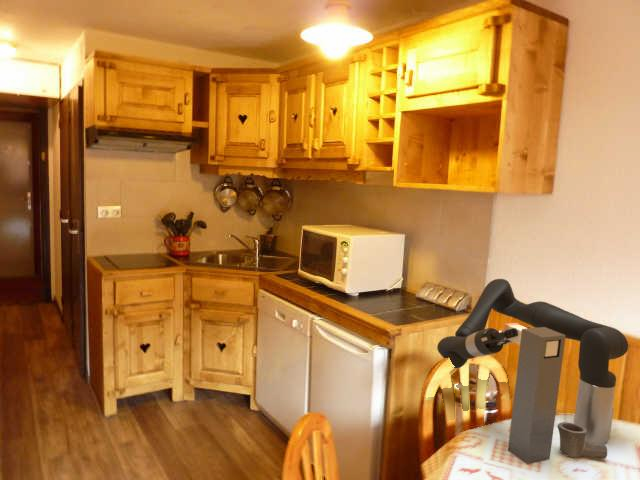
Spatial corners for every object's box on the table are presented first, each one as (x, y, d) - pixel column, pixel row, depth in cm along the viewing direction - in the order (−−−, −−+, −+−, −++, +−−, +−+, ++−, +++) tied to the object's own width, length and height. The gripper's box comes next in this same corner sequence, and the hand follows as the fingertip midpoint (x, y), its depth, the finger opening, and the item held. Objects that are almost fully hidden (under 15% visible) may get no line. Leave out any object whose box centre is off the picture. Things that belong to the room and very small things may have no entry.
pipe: (608, 465, 133) (612, 437, 132) (557, 457, 135) (560, 430, 134) (600, 453, 139) (604, 426, 138) (551, 445, 141) (554, 419, 140)
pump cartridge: (514, 337, 143) (516, 322, 143) (557, 355, 130) (559, 340, 129) (503, 338, 142) (504, 323, 141) (544, 357, 128) (546, 341, 127)
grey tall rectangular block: (529, 445, 140) (544, 327, 136) (549, 459, 134) (565, 335, 129) (507, 450, 137) (522, 328, 133) (527, 464, 131) (542, 337, 126)
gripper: (462, 332, 151) (499, 319, 136) (498, 329, 156) (538, 316, 142) (467, 357, 148) (506, 346, 134) (505, 353, 154) (546, 342, 139)
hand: (523, 331), depth 138 cm, fingers closed on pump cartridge, 4 cm apart
